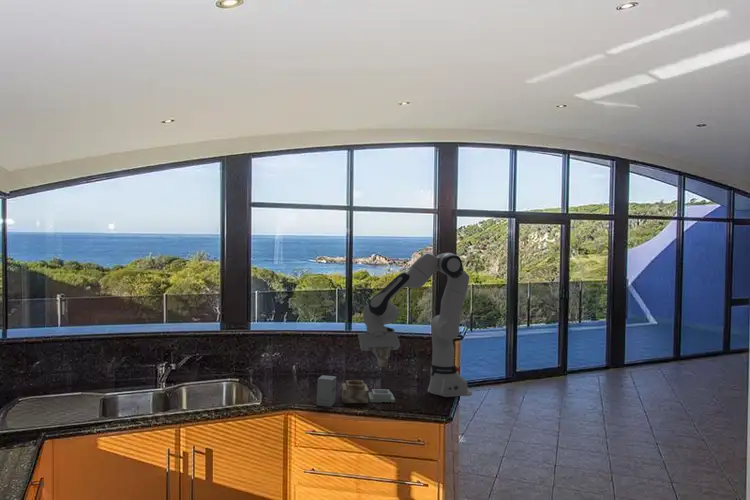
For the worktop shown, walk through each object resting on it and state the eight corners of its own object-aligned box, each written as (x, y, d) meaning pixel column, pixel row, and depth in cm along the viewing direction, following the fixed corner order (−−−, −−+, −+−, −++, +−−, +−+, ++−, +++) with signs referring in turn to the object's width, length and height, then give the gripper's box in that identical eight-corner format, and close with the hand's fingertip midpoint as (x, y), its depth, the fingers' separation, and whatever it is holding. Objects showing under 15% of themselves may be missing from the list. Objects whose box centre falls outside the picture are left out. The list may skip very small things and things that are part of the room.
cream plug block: (384, 364, 295) (385, 348, 295) (387, 366, 291) (388, 350, 291) (376, 364, 294) (377, 348, 293) (379, 366, 290) (380, 350, 290)
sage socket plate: (391, 395, 300) (391, 388, 300) (395, 402, 288) (395, 395, 288) (367, 395, 298) (367, 388, 298) (370, 402, 287) (370, 395, 286)
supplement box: (331, 407, 277) (332, 380, 276) (316, 405, 278) (317, 378, 278) (335, 402, 284) (336, 376, 283) (320, 401, 285) (321, 374, 285)
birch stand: (365, 395, 297) (366, 379, 297) (368, 403, 285) (368, 386, 285) (341, 395, 296) (342, 379, 296) (342, 402, 284) (343, 386, 284)
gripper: (358, 329, 294) (364, 353, 286) (397, 328, 302) (404, 352, 293) (355, 337, 299) (361, 361, 290) (393, 336, 306) (400, 359, 298)
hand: (383, 356), depth 292 cm, fingers closed on cream plug block, 4 cm apart
